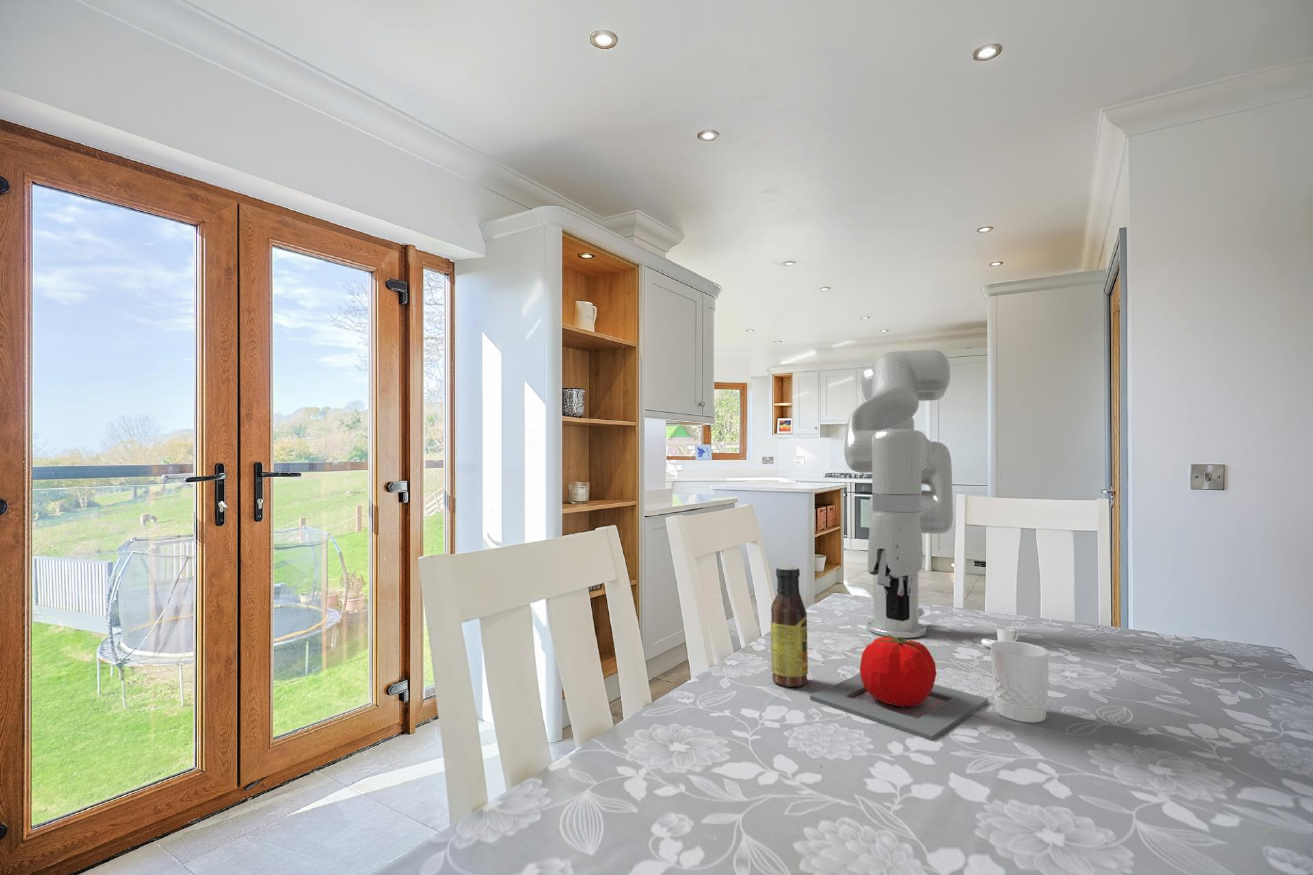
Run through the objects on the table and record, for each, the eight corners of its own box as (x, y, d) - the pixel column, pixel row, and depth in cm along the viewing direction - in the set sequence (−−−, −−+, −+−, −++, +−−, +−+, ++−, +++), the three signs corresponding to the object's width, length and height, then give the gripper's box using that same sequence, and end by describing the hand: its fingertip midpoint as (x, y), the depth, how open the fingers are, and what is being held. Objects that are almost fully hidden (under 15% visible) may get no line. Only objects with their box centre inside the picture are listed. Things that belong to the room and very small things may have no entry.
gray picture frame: (873, 670, 117) (873, 667, 117) (988, 702, 102) (988, 698, 102) (810, 699, 104) (810, 695, 104) (932, 740, 89) (931, 736, 89)
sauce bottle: (811, 689, 108) (810, 571, 109) (774, 688, 108) (773, 571, 109) (803, 675, 115) (802, 564, 115) (768, 675, 115) (768, 564, 115)
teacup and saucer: (983, 652, 129) (983, 631, 129) (976, 641, 137) (976, 621, 137) (1032, 656, 127) (1032, 635, 127) (1022, 644, 134) (1022, 625, 134)
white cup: (1034, 704, 101) (1033, 641, 102) (1060, 726, 94) (1059, 657, 94) (982, 703, 102) (981, 640, 102) (1004, 723, 94) (1003, 655, 95)
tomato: (888, 719, 96) (887, 650, 96) (846, 692, 107) (845, 630, 107) (955, 711, 99) (954, 644, 99) (907, 685, 110) (906, 625, 110)
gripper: (897, 502, 111) (898, 607, 111) (851, 505, 101) (852, 622, 101) (940, 504, 106) (941, 615, 105) (896, 508, 96) (897, 632, 95)
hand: (897, 618), depth 103 cm, fingers closed
